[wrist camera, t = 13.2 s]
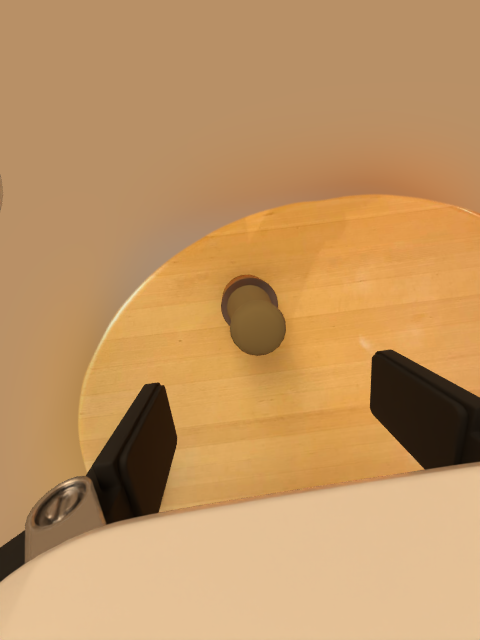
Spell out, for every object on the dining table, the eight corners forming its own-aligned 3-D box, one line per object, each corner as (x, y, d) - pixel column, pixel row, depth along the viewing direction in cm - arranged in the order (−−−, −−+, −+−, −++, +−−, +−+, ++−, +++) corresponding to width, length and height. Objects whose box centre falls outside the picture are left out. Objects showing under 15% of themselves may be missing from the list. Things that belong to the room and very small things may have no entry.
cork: (220, 320, 30) (215, 353, 19) (235, 278, 29) (239, 288, 18) (261, 335, 31) (278, 374, 20) (278, 294, 29) (306, 313, 19)
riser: (215, 311, 36) (212, 320, 30) (234, 266, 34) (235, 267, 28) (257, 328, 37) (262, 341, 31) (278, 287, 35) (287, 292, 29)
